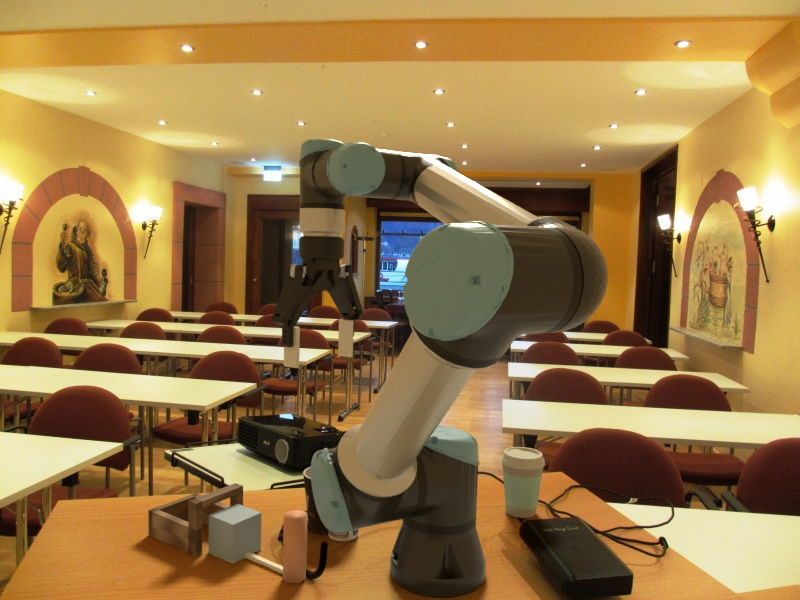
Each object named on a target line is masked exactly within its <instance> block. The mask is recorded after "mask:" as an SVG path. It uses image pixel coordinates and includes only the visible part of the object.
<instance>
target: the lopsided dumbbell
mask: <svg viewBox="0 0 800 600" xmlns="http://www.w3.org/2000/svg"><path fill="white" fill-rule="evenodd" d="M229 506H230V505H229ZM282 528H283V535H282V536H283V544H282V548H283V549H282V565H281V564H278V563H276V562H274V561H272V560H268V559H267V558H264V557H263V556H259V555H257V554H256V553H258V552H260V551H261V550H262V512H261V511H258V510H255V509H253V508H250V507H247V506H244V505H243V506H242V505H240V504H235V505H233V506H230V507H228V508H225V509H223V510H220V511H218V512H215V513H213V514H210V515H209V526H208V554H210V553H211V554H210V555H212V554H213V555H212V556H214V555H215V556H214V557H216V556H217V558H219V557H220V558H219V559H221V558H223V559H224V560H223V559H222V560H223V561H225V560H227V561H230V562H231V563H230V564H232V563H234V562H236V561H238V562H240V561H242V560H244V559H247V558H248V559H247V560H249V559H250V560H249V561H251V560H252V561H251V562H254V563H256V562H257V563H256V564H258V563H259V564H258V565H260V564H262V565H261V566H263V565H264V566H263V567H265V566H266V567H265V568H267V567H269V568H268V569H269V570H272V571H275V572H276V571H277V572H276V573H279V574H282V581H283V582H284V583H287V584H289V583H291V585H292V583H297V584H300V583H299V582H301V583H303V582H304V581H303V580H305V579H307V577H306V571H308V570H307V566H308V561H307V560H308V555H307V554H308V515H307V511H305V510H300V509H293V510H289V511H286V512H285V513H283V527H282ZM259 550H260V551H259ZM255 552H256V553H255ZM245 557H246V558H245ZM243 558H244V559H243ZM241 559H242V560H241ZM239 560H240V561H239ZM227 561H226V562H227ZM236 563H237V562H236ZM234 564H235V563H234ZM302 581H303V582H302Z"/></svg>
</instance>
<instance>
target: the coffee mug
mask: <svg viewBox="0 0 800 600" xmlns="http://www.w3.org/2000/svg"><path fill="white" fill-rule="evenodd" d="M302 474H303V484H304V493H305V494H304V495H305V504H306V513H307V525H308V524H309V525H308V528H309V530H311V531H312V532H314V533H317V534H328V529H327V528H326V527H325V525H324V524H323V523H322V521H321V519H320V516H319V514H318V511H317V508H316V504H315V500H314V496H313V491H312V483H311V466H309V467H307V468H305V469H304V470H303V472H302Z"/></svg>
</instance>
